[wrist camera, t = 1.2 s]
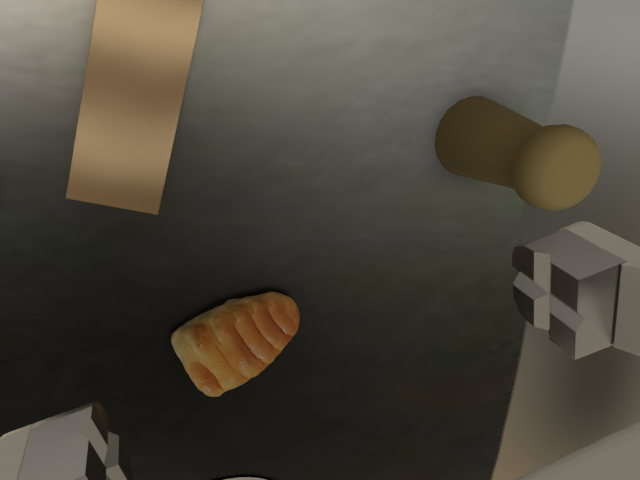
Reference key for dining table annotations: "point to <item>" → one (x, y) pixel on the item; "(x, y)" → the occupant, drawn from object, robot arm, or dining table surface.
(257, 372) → the pastry
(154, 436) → the dining table surface
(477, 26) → the dining table surface
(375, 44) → the dining table surface
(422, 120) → the dining table surface
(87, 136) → the shelf board
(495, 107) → the cork
